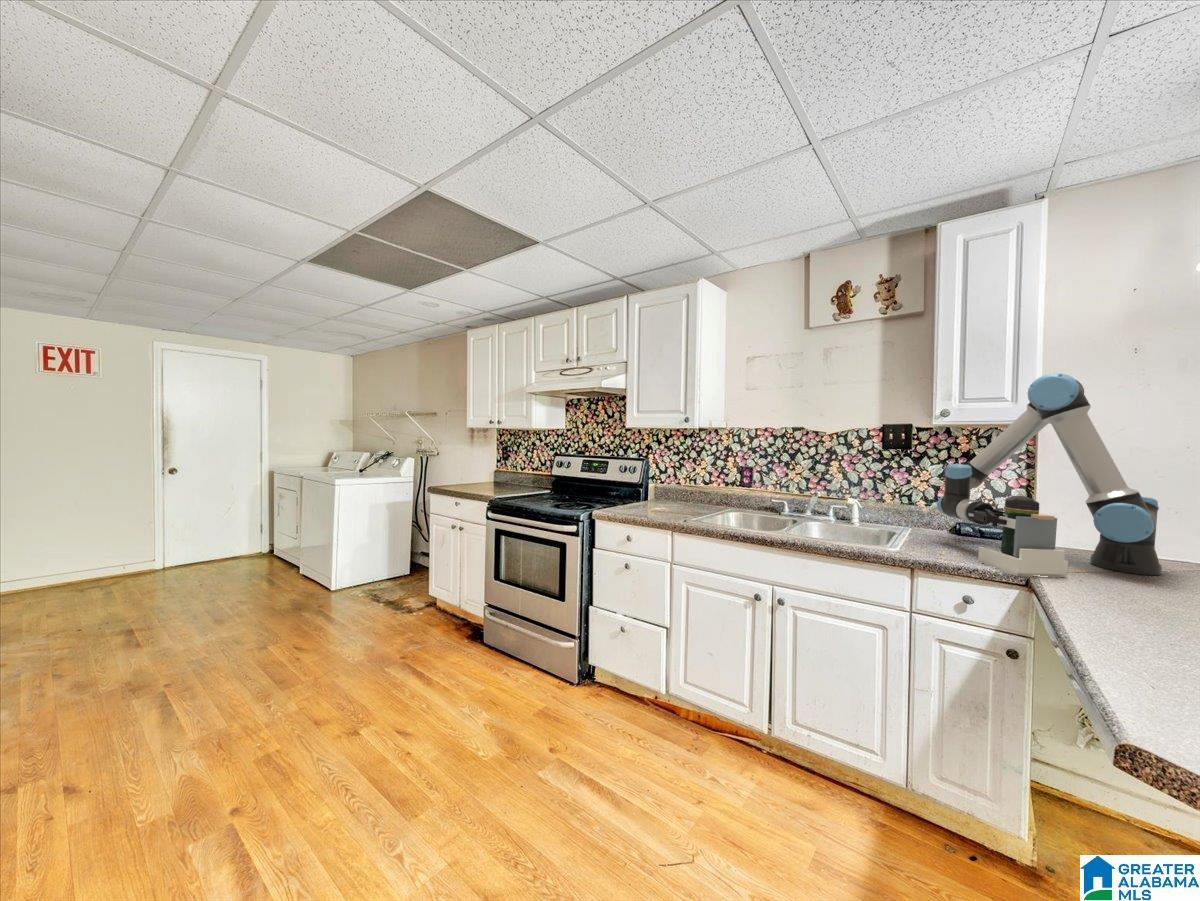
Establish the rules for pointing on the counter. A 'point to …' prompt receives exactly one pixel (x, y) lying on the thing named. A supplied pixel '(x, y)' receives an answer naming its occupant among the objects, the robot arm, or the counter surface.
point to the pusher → (1035, 533)
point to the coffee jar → (1014, 508)
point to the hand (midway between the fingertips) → (1033, 525)
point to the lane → (1027, 562)
